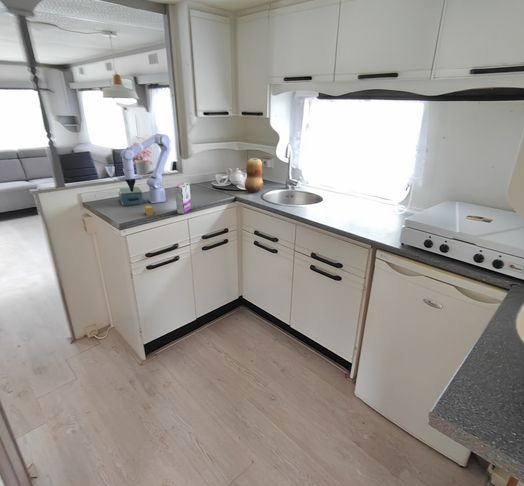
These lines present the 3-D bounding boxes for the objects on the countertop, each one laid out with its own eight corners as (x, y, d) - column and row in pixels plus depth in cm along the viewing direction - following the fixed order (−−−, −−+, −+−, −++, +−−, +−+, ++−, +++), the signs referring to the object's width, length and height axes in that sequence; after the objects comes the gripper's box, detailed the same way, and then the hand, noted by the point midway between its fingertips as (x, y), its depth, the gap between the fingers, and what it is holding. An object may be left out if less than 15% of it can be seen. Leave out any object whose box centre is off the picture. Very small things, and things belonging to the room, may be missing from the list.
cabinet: (143, 203, 213) (141, 191, 209) (122, 206, 207) (120, 193, 204) (139, 198, 224) (137, 186, 221) (119, 200, 218) (117, 188, 215)
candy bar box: (184, 208, 204) (182, 182, 197) (191, 209, 203) (189, 183, 196) (176, 213, 193) (174, 186, 187) (184, 214, 193) (182, 187, 186)
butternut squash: (249, 195, 235) (249, 160, 225) (241, 191, 246) (241, 157, 236) (266, 193, 241) (267, 159, 232) (257, 189, 252) (258, 156, 242)
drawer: (144, 204, 207) (142, 195, 205) (125, 207, 202) (123, 197, 199) (138, 198, 221) (137, 188, 219) (121, 200, 216) (119, 190, 214)
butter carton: (145, 213, 193) (144, 206, 192) (151, 212, 195) (150, 205, 193) (147, 215, 189) (146, 208, 188) (153, 215, 191) (152, 207, 189)
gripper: (117, 171, 192) (120, 194, 197) (142, 169, 199) (145, 191, 204) (115, 169, 198) (118, 191, 203) (140, 168, 204) (142, 189, 210)
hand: (131, 191), depth 204 cm, fingers closed
